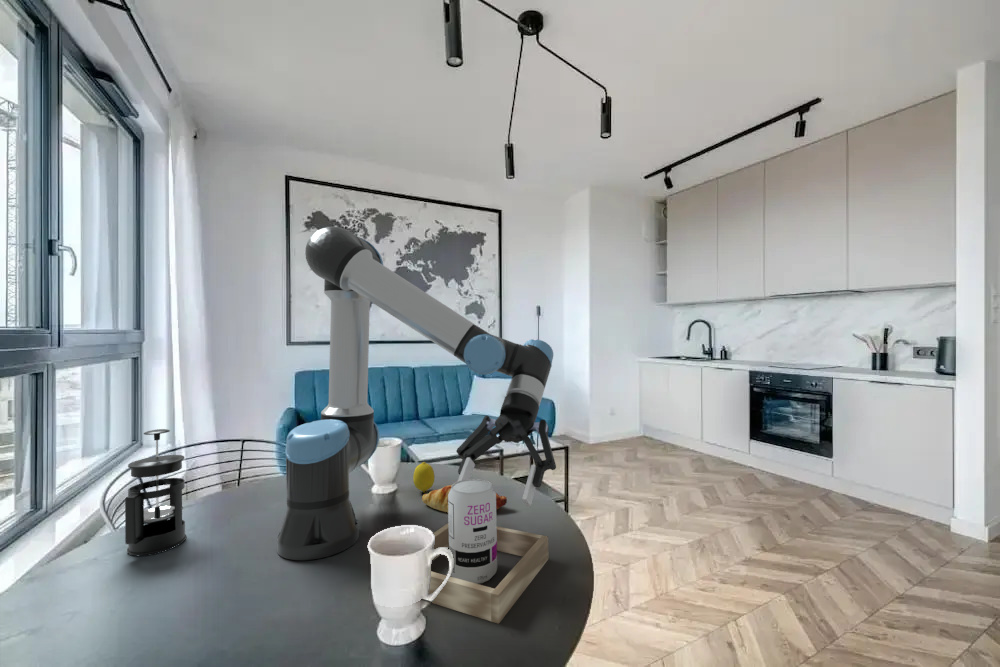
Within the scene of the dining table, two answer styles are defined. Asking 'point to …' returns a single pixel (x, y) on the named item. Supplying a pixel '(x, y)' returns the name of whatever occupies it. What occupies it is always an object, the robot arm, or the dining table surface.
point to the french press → (157, 528)
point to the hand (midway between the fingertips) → (491, 497)
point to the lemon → (423, 477)
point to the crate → (503, 597)
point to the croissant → (440, 499)
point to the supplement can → (473, 530)
